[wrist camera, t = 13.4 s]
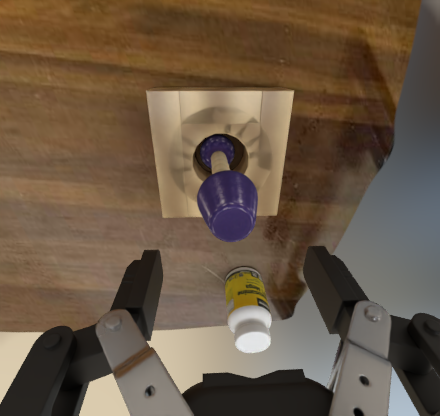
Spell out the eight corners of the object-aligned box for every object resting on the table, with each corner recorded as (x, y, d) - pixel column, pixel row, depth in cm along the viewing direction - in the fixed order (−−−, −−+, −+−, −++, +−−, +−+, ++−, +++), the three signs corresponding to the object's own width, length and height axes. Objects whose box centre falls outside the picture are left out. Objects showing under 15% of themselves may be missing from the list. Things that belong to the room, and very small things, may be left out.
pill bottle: (267, 269, 41) (285, 333, 31) (252, 294, 43) (265, 359, 34) (231, 261, 39) (239, 325, 30) (219, 288, 42) (223, 353, 33)
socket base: (283, 87, 27) (294, 90, 23) (269, 200, 34) (276, 215, 30) (153, 87, 26) (145, 90, 23) (167, 202, 33) (162, 217, 30)
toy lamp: (203, 126, 29) (200, 188, 14) (242, 133, 29) (277, 200, 15) (197, 165, 31) (189, 252, 17) (233, 171, 32) (256, 260, 17)
